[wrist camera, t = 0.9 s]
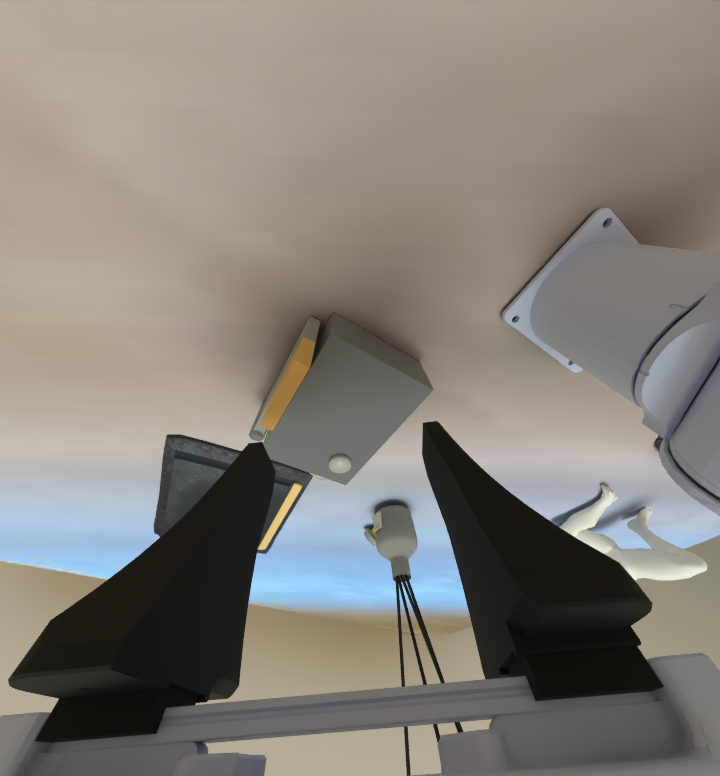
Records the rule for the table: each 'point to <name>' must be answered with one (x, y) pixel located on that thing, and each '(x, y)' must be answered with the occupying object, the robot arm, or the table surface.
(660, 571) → the person figurine
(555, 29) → the table surface
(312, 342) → the side hatch
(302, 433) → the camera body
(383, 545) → the reed diffuser
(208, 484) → the wallet
